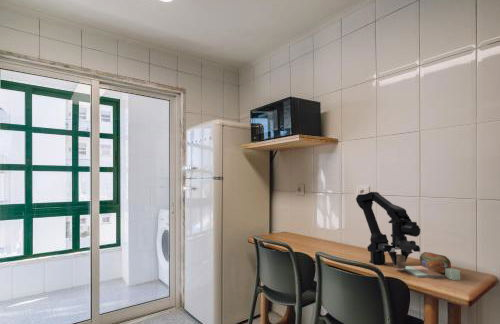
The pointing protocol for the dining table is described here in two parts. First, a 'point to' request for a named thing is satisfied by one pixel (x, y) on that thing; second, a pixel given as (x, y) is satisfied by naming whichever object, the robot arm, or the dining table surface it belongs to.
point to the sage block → (452, 273)
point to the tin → (435, 262)
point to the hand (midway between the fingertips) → (399, 265)
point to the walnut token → (400, 261)
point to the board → (422, 272)
